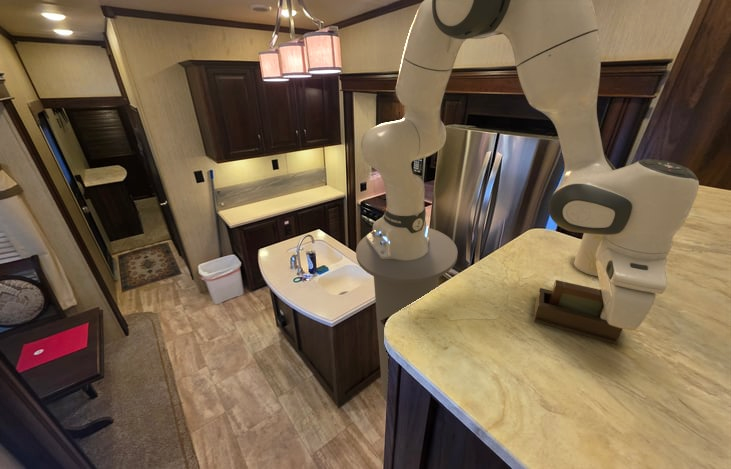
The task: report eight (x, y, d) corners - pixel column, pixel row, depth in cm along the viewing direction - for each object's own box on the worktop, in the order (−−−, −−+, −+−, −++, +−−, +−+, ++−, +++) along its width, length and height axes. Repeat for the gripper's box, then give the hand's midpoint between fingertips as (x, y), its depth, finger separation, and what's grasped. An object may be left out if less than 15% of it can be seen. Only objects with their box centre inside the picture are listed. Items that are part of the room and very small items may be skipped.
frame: (546, 308, 64) (555, 279, 60) (602, 322, 60) (615, 293, 56) (546, 313, 63) (555, 285, 59) (603, 329, 58) (617, 299, 54)
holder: (535, 299, 68) (539, 285, 66) (610, 318, 61) (617, 303, 59) (534, 321, 62) (538, 307, 60) (616, 344, 55) (624, 329, 53)
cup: (579, 274, 74) (594, 233, 68) (570, 257, 81) (582, 218, 75) (617, 278, 72) (636, 236, 66) (604, 259, 79) (619, 220, 73)
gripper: (600, 225, 60) (581, 278, 67) (615, 282, 45) (589, 343, 51) (639, 231, 57) (615, 285, 64) (670, 293, 42) (634, 356, 48)
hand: (603, 312), depth 57 cm, fingers closed on frame, 2 cm apart
